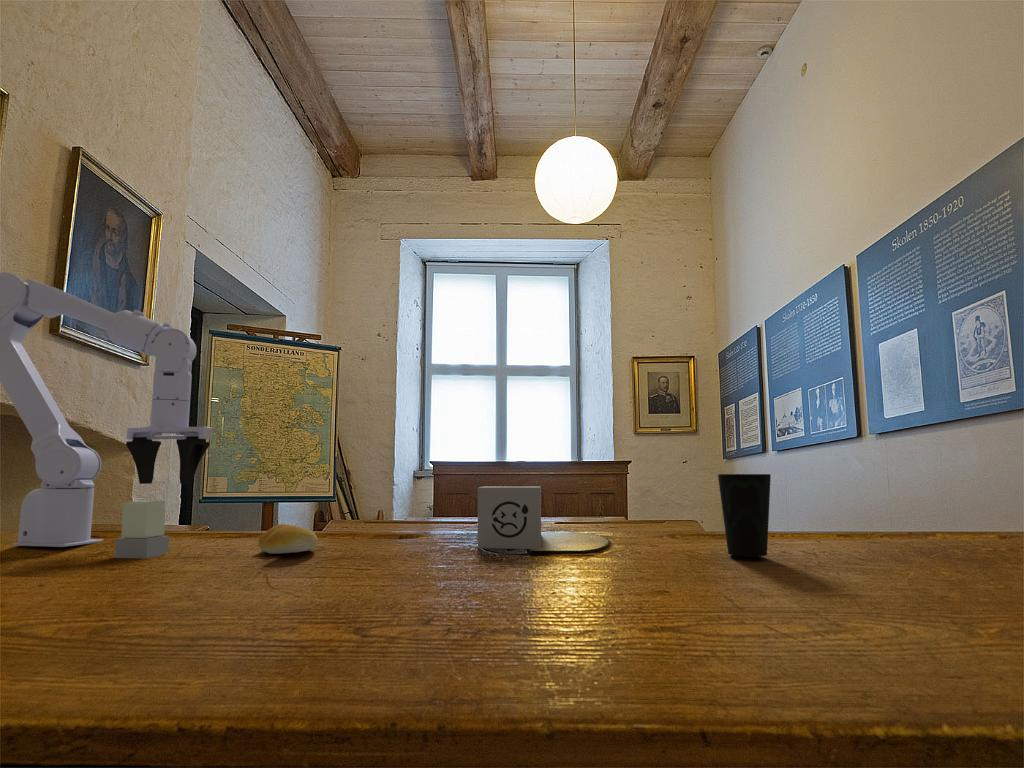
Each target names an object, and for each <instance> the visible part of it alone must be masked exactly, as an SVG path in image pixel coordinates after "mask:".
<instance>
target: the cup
mask: <svg viewBox="0 0 1024 768" xmlns="http://www.w3.org/2000/svg"><path fill="white" fill-rule="evenodd" d="M771 477H772V476H771V474H770V473H766V474H765V473H759V474H758V473H745V474H744V473H736V474H735V473H725V474H724V473H718V474H717V479H718V486H719V488H718V489H719V495H720V501H721V511H722V517H723V523H724V524H723V525H724V530H725V532H724V533H725V540H726V546H727V554H728V555H731V556H737V557H739V556H740V557H766V556H767V555H768V545H769V544H768V542H769V541H768V538H769V520H770V519H769V518H770V517H769V516H770V498H771V497H770V496H771Z"/></svg>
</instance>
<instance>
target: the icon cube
mask: <svg viewBox="0 0 1024 768" xmlns="http://www.w3.org/2000/svg"><path fill="white" fill-rule="evenodd" d="M477 548H479V549H515V550H517V549H518V550H519V549H520V550H542V487H541V486H539V485H537V486H535V485H531V486H530V485H529V486H526V485H524V486H523V485H522V486H521V485H520V486H514V485H513V486H511V485H510V486H507V485H505V486H504V485H503V486H500V485H499V486H498V485H496V486H495V485H493V486H487V485H486V486H485V485H484V486H480V487H477Z"/></svg>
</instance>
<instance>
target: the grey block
mask: <svg viewBox="0 0 1024 768" xmlns="http://www.w3.org/2000/svg"><path fill="white" fill-rule="evenodd" d="M169 543H170V535H159V536H153V537H148V538H121V537H117V538H115V547H114V558H115V559H146V560H147V559H151V558H156V557H160V556H159V555H161V554H163V553H166V552H168V553H169V546H170V545H169Z"/></svg>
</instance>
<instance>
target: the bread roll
mask: <svg viewBox="0 0 1024 768" xmlns="http://www.w3.org/2000/svg"><path fill="white" fill-rule="evenodd" d="M318 542H319V539H318V536H317V534H316V533H315V531H313V530H311V529H308V528H305V527H299V526H296V525H292V524H284V523H283V524H282V523H281V524H278V525H277V524H276V525H275V526H272V527H270V528H269V529H268V530H266V532H264V533H263V534H262V535H261V536H260V537H259V539H258V542H257V545H258V548H259V549H260V551H261V552H262V551H263V553H268V554H269V555H270V554H271V555H272V554H273V555H274V554H276V555H279V554H291V553H301V552H307V551H312V550H314V549H316V548H317V547H318Z"/></svg>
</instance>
